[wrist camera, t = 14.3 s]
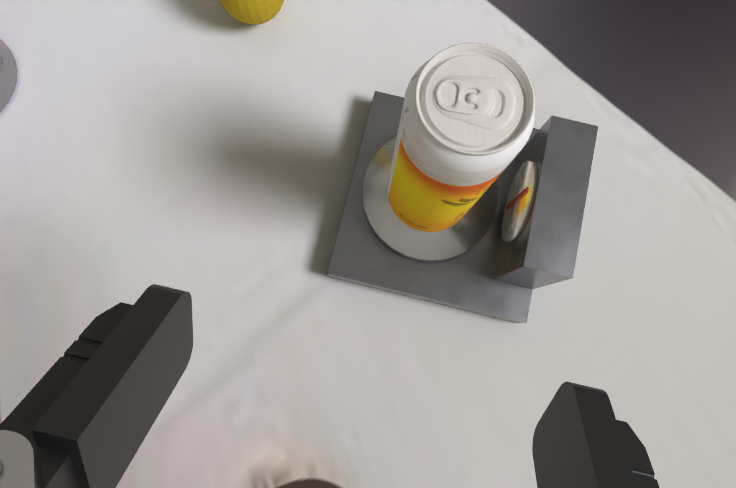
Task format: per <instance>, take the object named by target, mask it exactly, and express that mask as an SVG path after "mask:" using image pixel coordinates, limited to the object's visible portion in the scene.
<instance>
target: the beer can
mask: <svg viewBox="0 0 736 488" xmlns="http://www.w3.org/2000/svg"><path fill="white" fill-rule="evenodd" d="M534 105H535V97H534V90H533V86H532V83H531V81H530V78H529V76H528V75H527V73H526V71H525V70H524V68H523V67H522V66H521V65H520V64H519V63H518V61H517V60H515V59H514V58H513V57H512V56H511V55H509V54H508V53H506V52H504V51H502V50H501V49H498V48H496V47H493V46H490V45H487V44H481V43H463V44H458V45H454V46H451V47H448V48H446V49H444V50H442V51H441V52H439V53H438V54H436V55H435V56H434V57H433V58H431V59H430V60H429V61H427V62H426V63H425V64H424V65H422V66H421V67H420V68H419V69H418V71H417V72H416V73H415V74H414V76H413V77H412V79H411V81H410V83H409V85H408V87H407V90H406V94H405V98H404V103H403V108H402V113H401V119H400V124H399V129H398V134H397V139H396V145H395V150H394V155H393V160H392V165H391V171H390V176H389V181H388V199H389V203H390V205H391V208H392V210H393V211H394V213H395V214H396V216H397V217H398V218H399V219H400V220H401V221H402V222H403V223H405V224H406V225H408V226H409V227H411V228H413V229H416V230H419V231H424V232H438V231H442V230H446V229H448V228H450V227H452V226H454V225H455V224H456V223H458V222H459V221H460V220H461V219H462V218H463V217H464V215H465V214H466V213H467V212H468V211H469V210H470V209H471V207H472V206H473V205H474V204H475V203H476V202H477V201H478V199H479V198H480V197H481V196H482V195H483V194H484V192H485V191H486V190H487V189H488V188H489V187H490V186H491V184H492V183H493V182H494V181H495V180H496V179H497V177H498V176H499V175H500V174H501V173H502V172H503V171H504V169H505V168H506V167H507V166H508V165H509V164H510V163H511V161H512V160H513V159H514V158H515V157H516V156H517V154H518V153H519V152H520V151H521V150H522V149H523V147H524V146H525V144H526V143H527V141H528V139H529V137H530V135H531V133H532V130H533V126H534V121H535V106H534Z"/></svg>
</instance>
